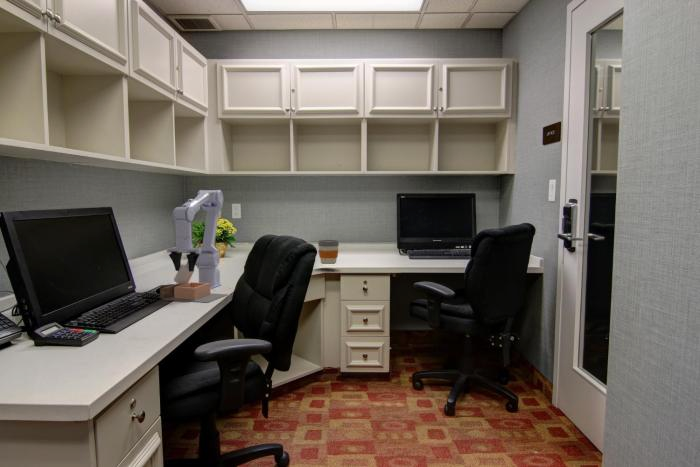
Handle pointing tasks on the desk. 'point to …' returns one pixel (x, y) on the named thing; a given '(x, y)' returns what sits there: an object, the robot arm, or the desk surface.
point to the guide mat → (203, 299)
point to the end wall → (167, 291)
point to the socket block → (192, 290)
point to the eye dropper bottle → (183, 274)
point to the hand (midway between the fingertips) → (184, 270)
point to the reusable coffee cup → (328, 251)
